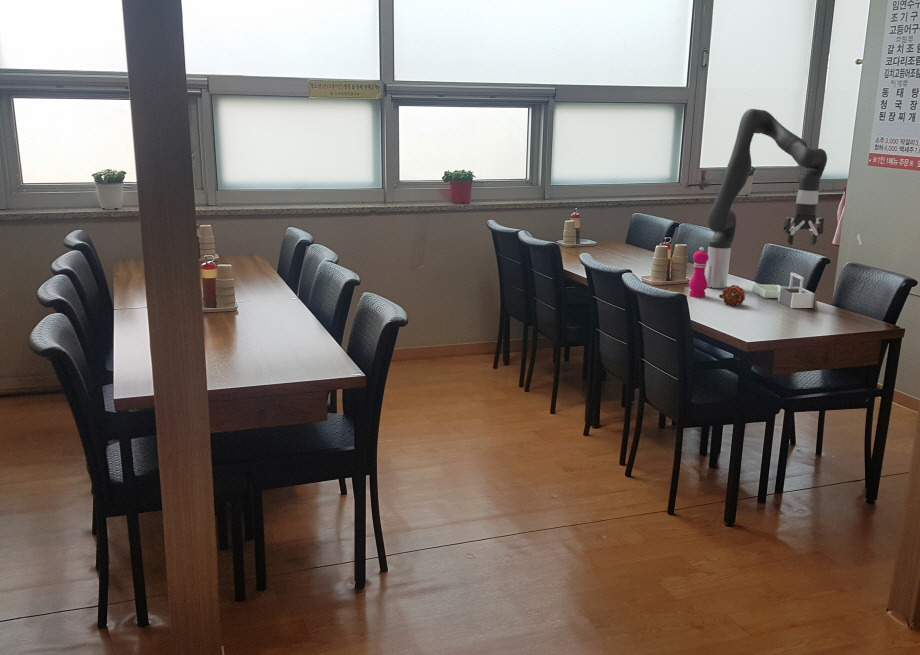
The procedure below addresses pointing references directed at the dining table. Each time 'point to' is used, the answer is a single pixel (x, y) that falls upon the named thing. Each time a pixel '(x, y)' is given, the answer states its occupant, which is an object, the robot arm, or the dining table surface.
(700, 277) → the pepper mill
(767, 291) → the tray
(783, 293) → the caddy
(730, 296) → the brown scaly oval lump
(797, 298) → the bay
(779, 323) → the dining table surface
